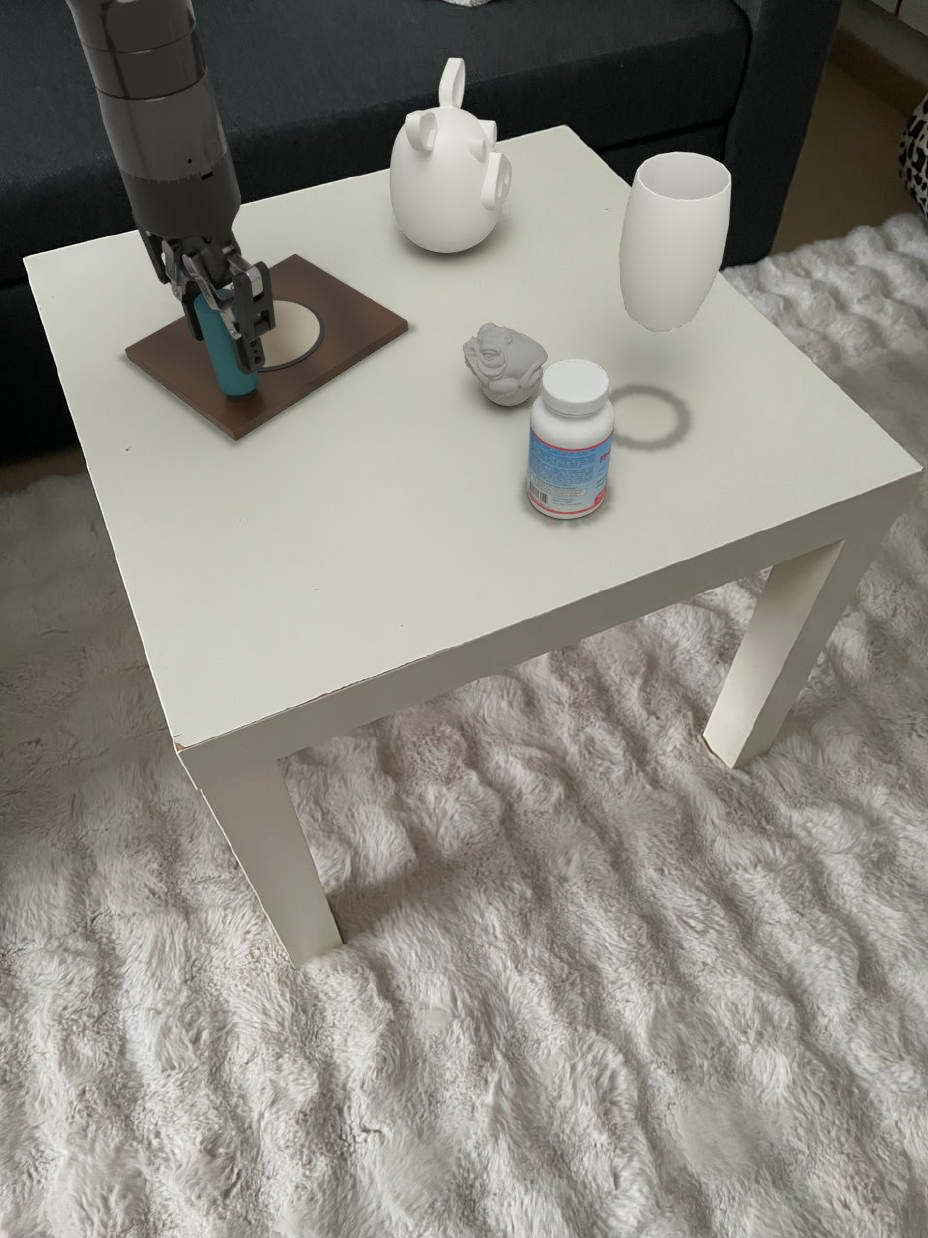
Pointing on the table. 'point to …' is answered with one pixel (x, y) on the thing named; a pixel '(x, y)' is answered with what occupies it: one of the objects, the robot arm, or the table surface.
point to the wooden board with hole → (275, 347)
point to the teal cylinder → (224, 352)
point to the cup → (673, 238)
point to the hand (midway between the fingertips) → (229, 351)
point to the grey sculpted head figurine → (505, 363)
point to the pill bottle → (570, 440)
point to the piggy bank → (448, 172)
